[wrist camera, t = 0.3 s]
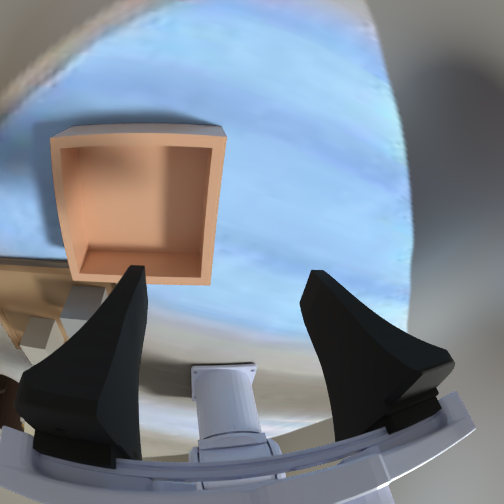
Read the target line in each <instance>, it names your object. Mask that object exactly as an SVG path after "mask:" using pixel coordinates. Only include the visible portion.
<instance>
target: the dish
mask: <svg viewBox="0 0 504 504" xmlns="http://www.w3.org/2000/svg"><path fill="white" fill-rule="evenodd" d="M226 141H227V136H226V134H225V132H224V130H223V128H222V126H211V125H196V124H174V123H114V124H94V125H80V126H72V127H70V128H68V129H66V130H64V131H62V132H60V133H58V134H56V135H54V136H53V137H51V138H50V147H51V162H52V173H53V182H54V190H55V197H56V204H57V211H58V216H59V222H60V227H61V233H62V237H63V242H64V247H65V251H66V255H67V260H68V264H69V268H70V271H71V275H72V279H73V281H91V282H111V283H118V282H119V280H120V279H121V277H122V276H123V274H124V273H125V271H126V270H127V268H128V267H129V266H130V265H143V266H145V274H146V284H165V285H210V284H211V273H212V262H213V252H214V242H215V232H216V222H217V213H218V204H219V196H220V187H221V179H222V171H223V163H224V156H225V148H226Z"/></svg>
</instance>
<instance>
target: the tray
mask: <svg viewBox="0 0 504 504" xmlns="http://www.w3.org/2000/svg"><path fill="white" fill-rule="evenodd" d="M72 285H74V286H90V287H106V291H107V296H108V295H109V294H110V293H111V291H112V290H113V289H114V287H115V286H116V285H117V283H111V282H91V281H73V279H72V275H71V271H70V268H69V264H68V261H56V260H35V259H16V258H0V322H1V323H2V325H3V327H4V329H5V330H6V332H7V334H8V336H9V337H10V339H11V341H12V342H13V344H14V345H15V347H16V348H17V349H22V348H21V347H20V345H19V344H20V342H21V339H22V337H23V334H24V331H25V329H26V326H27V324H28V322H29V319H30V317H38V318H46V319H54V320H56V322H57V325H58V327H59V329H60V331H61V334H62V336H63V338H64V343H65V342H66V341H68V340H69V338H68V336H67V333H66V331H65V329H64V327H63V324H62V322H61V320H60V316H61V313H62V310H63V308H64V305H65V302H66V300H67V297H68V295H69V292H70V290H71V287H72ZM64 343H63V344H64ZM140 364H141V361H140Z"/></svg>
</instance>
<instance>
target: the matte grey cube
mask: <svg viewBox="0 0 504 504" xmlns="http://www.w3.org/2000/svg"><path fill="white" fill-rule="evenodd" d="M107 297H108V296H107V291H106V287H90V286H74V285H72V287H71V290H70V292H69V295H68V297H67V300H66V302H65V305H64V308H63V310H62V313H61V316H60V320H61V322H62V324H63V327H64V329H65V331H66V333H67V336H68V338H69V339H70V338H71V337H72V336H73V335H74V334H75V333H76V332H77V331H78V330H79V329H80V328H81V327H82V326H83V325H84V324H85V323H86V322H87V321H88V320H89V319H90V318H91V316H92V315H93V314H94V313H95V312H96V311H97V309H98V308H99V307H100V306H101V304H102V303H103V302H104V301H105V299H106V298H107Z"/></svg>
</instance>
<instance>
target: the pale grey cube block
mask: <svg viewBox="0 0 504 504" xmlns="http://www.w3.org/2000/svg"><path fill="white" fill-rule="evenodd" d="M63 343H64V338H63V336H62V334H61V331H60V329H59V327H58V325H57V322H56V320H54V319H46V318H38V317H30V319H29V322H28V324H27V326H26V329H25V331H24V334H23V337H22V339H21V342H20V344H19V345H20V347H21V348H22V350H23V352H24V353H25V355H26V356H27V358H28V359H29V361H30V362H31V364H33V365H36V364H37V363H39V362H41V361H42V360H43V359H45V358H46V357H48V356H49V355H50V354H52V353H53V352H54V351H55V350H57V349H58V348H59V347H60V346H62V345H63Z"/></svg>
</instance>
